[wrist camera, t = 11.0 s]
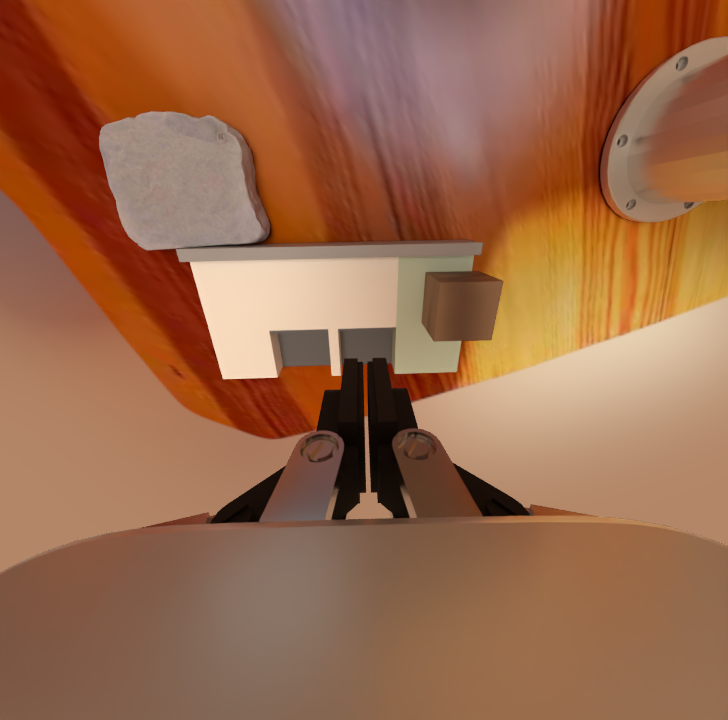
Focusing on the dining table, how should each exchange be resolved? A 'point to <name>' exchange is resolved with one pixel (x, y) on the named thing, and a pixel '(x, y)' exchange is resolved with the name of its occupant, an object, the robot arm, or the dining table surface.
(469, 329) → the walnut cube
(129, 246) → the dining table surface
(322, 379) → the dining table surface
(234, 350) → the box
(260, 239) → the stone block
